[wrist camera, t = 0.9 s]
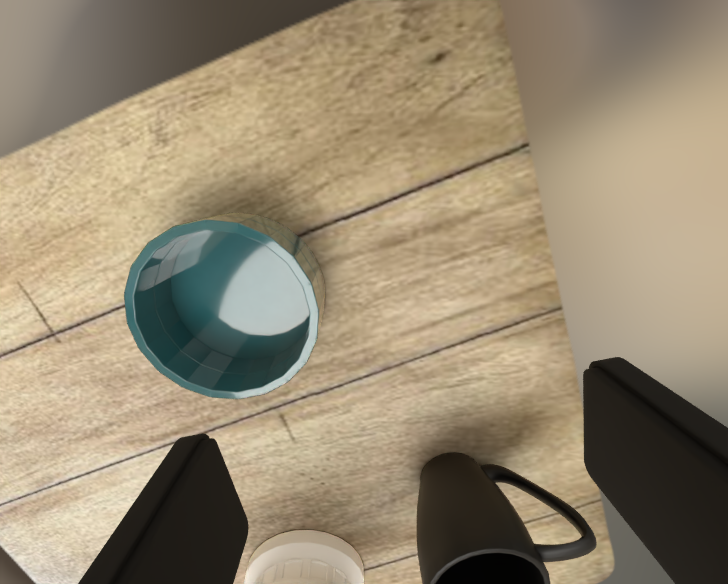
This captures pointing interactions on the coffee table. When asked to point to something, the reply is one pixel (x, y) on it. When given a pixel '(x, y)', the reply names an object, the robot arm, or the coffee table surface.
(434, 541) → the mug
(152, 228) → the coffee table surface
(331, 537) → the decorative container
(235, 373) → the bowl
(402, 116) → the coffee table surface
